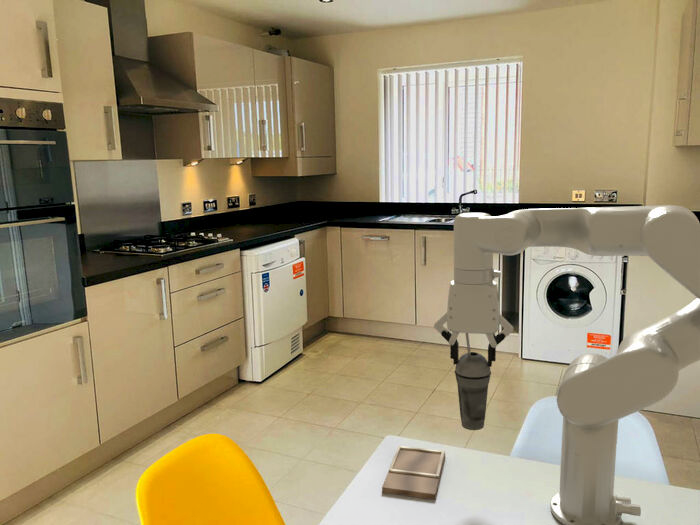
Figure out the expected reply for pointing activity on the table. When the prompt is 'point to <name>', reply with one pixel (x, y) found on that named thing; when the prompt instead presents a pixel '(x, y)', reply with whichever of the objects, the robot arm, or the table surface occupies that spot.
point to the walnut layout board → (415, 472)
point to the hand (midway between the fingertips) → (472, 362)
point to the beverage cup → (472, 388)
